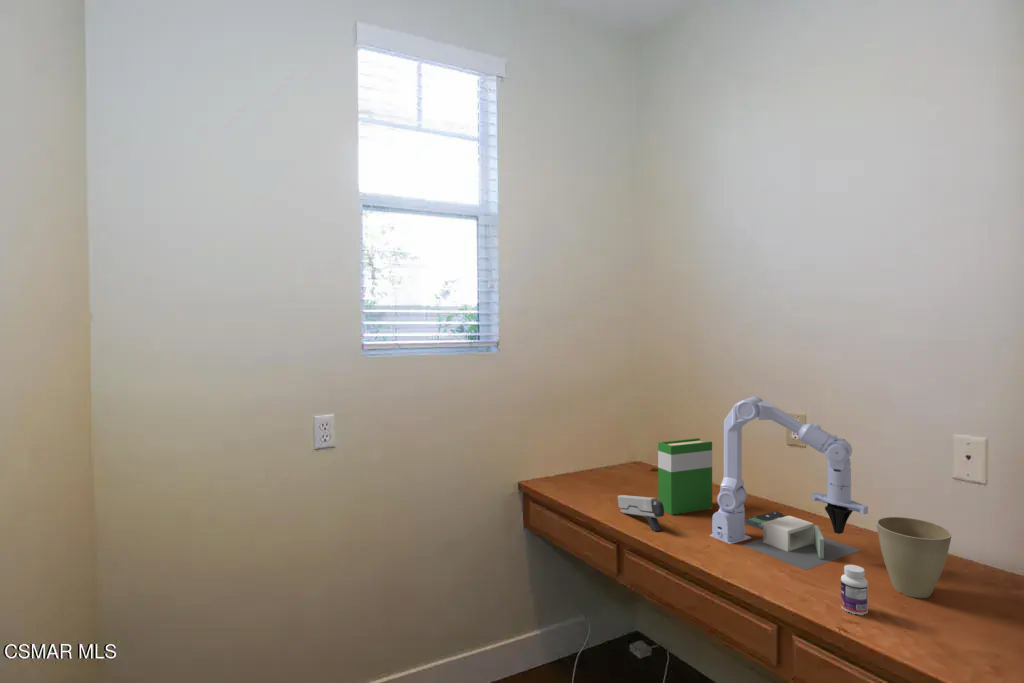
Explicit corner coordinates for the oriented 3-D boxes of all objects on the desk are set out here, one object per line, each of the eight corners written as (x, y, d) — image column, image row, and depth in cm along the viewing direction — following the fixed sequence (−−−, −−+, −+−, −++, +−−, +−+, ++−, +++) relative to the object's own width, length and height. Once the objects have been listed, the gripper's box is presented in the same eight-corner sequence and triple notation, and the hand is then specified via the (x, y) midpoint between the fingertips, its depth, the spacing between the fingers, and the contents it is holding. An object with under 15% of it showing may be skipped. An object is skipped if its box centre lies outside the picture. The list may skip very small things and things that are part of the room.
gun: (662, 532, 175) (657, 499, 177) (619, 524, 198) (616, 495, 200) (669, 531, 176) (664, 498, 178) (625, 523, 199) (622, 494, 201)
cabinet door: (827, 559, 155) (827, 539, 155) (819, 558, 156) (819, 539, 156) (820, 543, 166) (820, 525, 166) (813, 542, 167) (813, 524, 167)
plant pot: (869, 591, 138) (869, 527, 137) (884, 572, 148) (884, 512, 148) (945, 613, 127) (946, 543, 127) (955, 591, 138) (956, 526, 137)
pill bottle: (842, 601, 133) (843, 561, 133) (869, 608, 130) (869, 567, 129) (838, 610, 129) (838, 569, 129) (866, 618, 125) (866, 575, 125)
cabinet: (787, 551, 161) (787, 530, 161) (763, 542, 168) (763, 522, 168) (813, 543, 167) (813, 523, 167) (788, 534, 174) (789, 515, 174)
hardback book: (698, 502, 208) (698, 438, 207) (712, 508, 201) (712, 441, 200) (658, 508, 201) (658, 442, 201) (671, 515, 194) (671, 446, 194)
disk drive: (775, 519, 191) (745, 526, 184) (775, 510, 191) (745, 517, 184) (803, 528, 182) (773, 536, 175) (803, 520, 182) (773, 527, 175)
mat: (805, 571, 149) (805, 570, 149) (741, 546, 167) (741, 544, 167) (861, 551, 162) (861, 550, 162) (797, 529, 179) (797, 528, 179)
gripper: (874, 488, 151) (874, 538, 151) (822, 475, 163) (822, 522, 164) (859, 492, 147) (859, 543, 148) (807, 479, 160) (807, 526, 160)
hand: (838, 532), depth 155 cm, fingers closed
